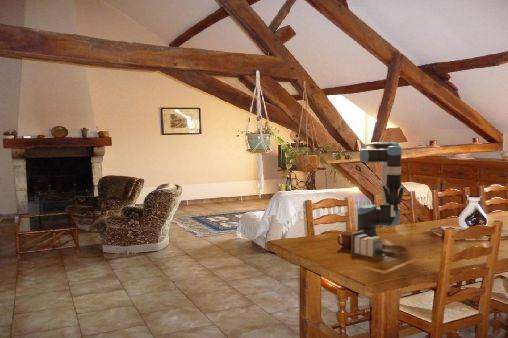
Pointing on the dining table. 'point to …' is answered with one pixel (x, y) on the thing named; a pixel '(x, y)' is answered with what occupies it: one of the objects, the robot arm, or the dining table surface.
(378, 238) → the olive book
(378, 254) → the bookend
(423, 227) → the dining table surface
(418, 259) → the dining table surface
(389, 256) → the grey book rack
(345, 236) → the mug
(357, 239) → the blue-grey block
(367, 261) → the dining table surface
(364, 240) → the rust book
